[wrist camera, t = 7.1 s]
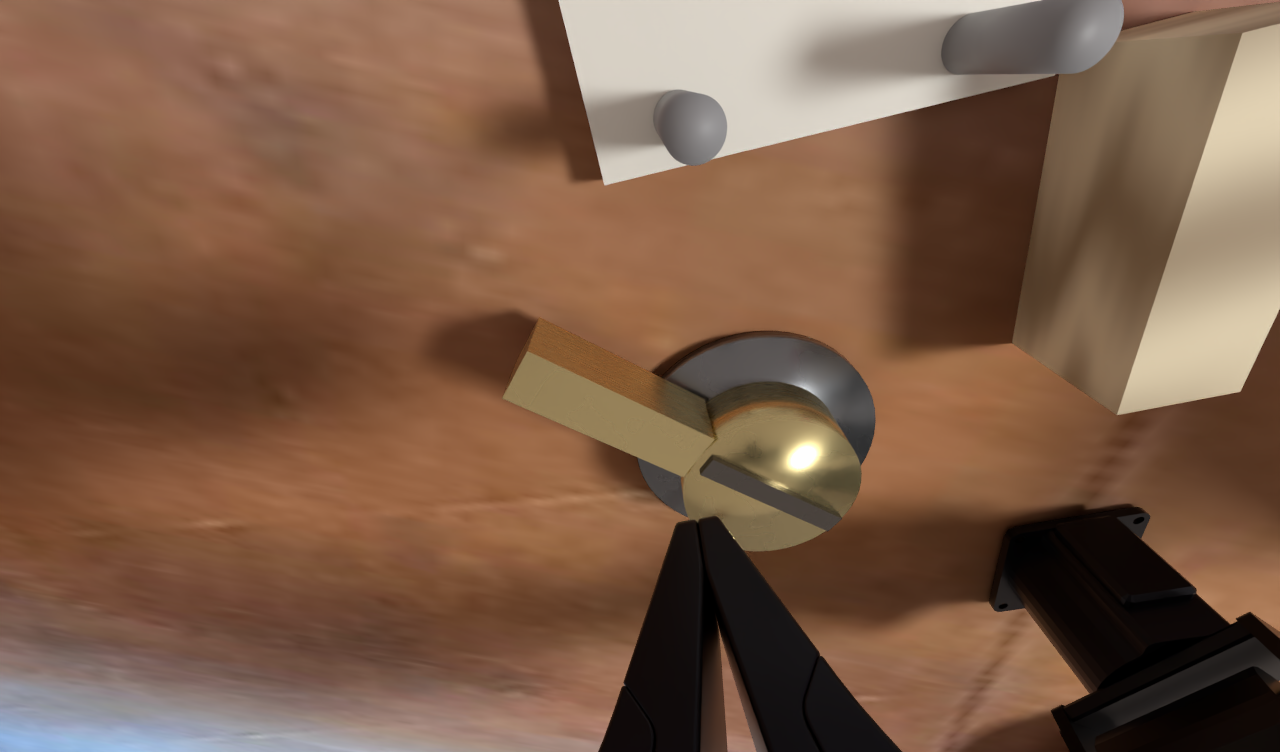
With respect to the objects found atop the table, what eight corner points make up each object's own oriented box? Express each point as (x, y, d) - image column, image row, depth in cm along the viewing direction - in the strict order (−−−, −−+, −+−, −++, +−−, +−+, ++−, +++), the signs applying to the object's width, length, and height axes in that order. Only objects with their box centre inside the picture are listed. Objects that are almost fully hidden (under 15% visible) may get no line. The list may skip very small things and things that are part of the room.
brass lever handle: (870, 424, 20) (903, 471, 18) (769, 524, 23) (786, 576, 21) (568, 261, 16) (559, 293, 14) (492, 405, 19) (473, 452, 17)
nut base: (867, 496, 24) (872, 506, 23) (661, 533, 24) (661, 542, 24) (871, 306, 18) (878, 312, 18) (610, 361, 19) (610, 368, 19)
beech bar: (1103, 321, 19) (1240, 391, 15) (1009, 341, 20) (1117, 415, 15) (1189, 12, 14) (1433, -16, 10) (1060, 45, 15) (1242, 32, 10)
